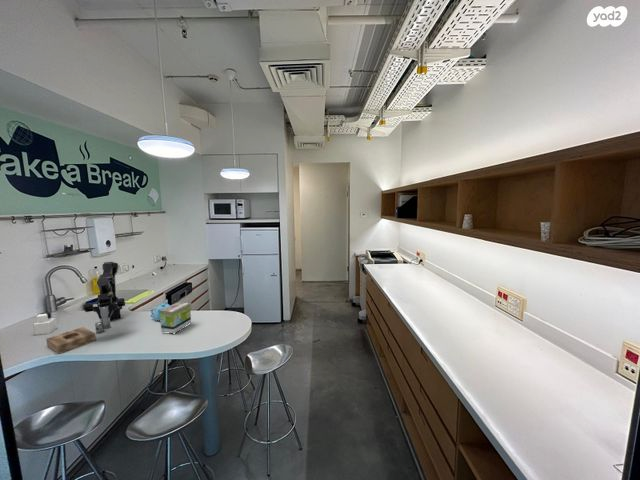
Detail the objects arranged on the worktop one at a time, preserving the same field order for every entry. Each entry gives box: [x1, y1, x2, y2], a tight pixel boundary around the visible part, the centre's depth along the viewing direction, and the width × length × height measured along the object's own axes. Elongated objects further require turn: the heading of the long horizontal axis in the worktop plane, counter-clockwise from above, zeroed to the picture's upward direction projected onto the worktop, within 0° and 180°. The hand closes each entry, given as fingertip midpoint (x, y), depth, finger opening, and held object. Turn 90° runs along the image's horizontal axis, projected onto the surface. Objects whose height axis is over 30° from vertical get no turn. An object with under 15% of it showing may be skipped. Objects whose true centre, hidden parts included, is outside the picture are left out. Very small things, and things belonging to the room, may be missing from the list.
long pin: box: [99, 306, 112, 331], centre depth 151 cm, size 4×4×13 cm
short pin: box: [94, 321, 105, 335], centre depth 160 cm, size 4×4×6 cm
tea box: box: [160, 302, 192, 333], centre depth 165 cm, size 15×10×15 cm
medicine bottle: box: [33, 311, 58, 336], centre depth 160 cm, size 7×7×12 cm
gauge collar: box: [46, 326, 97, 355], centre depth 147 cm, size 16×16×4 cm
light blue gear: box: [150, 299, 171, 321], centre depth 181 cm, size 15×15×10 cm
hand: (104, 318), depth 150 cm, fingers closed on long pin, 4 cm apart
